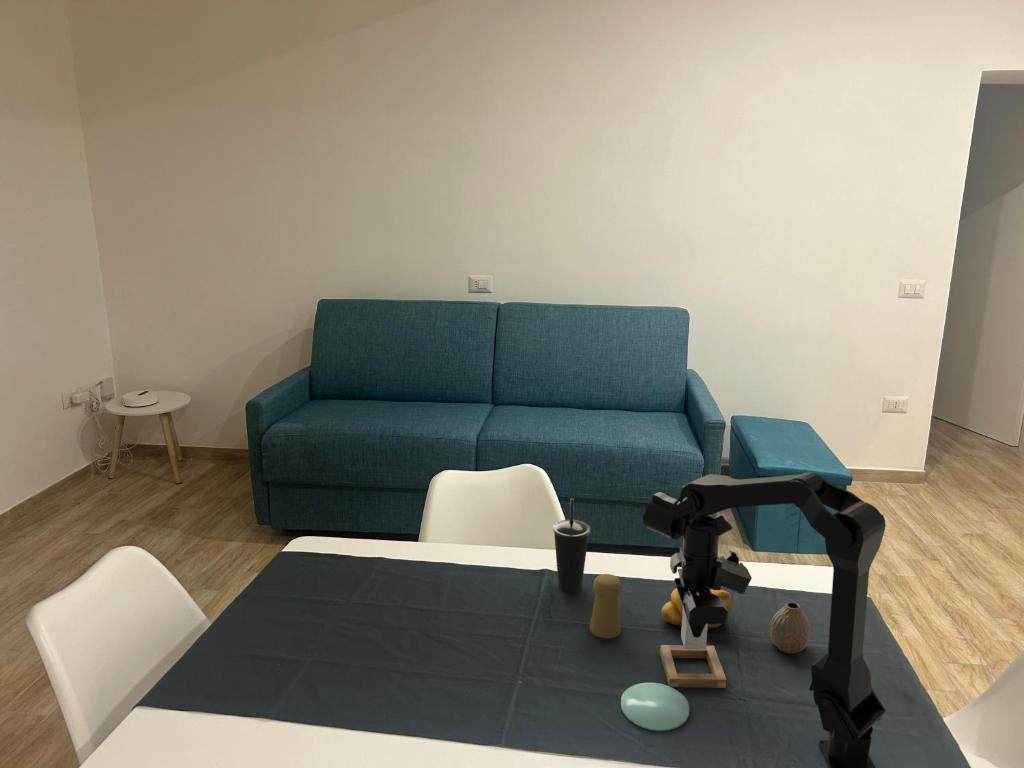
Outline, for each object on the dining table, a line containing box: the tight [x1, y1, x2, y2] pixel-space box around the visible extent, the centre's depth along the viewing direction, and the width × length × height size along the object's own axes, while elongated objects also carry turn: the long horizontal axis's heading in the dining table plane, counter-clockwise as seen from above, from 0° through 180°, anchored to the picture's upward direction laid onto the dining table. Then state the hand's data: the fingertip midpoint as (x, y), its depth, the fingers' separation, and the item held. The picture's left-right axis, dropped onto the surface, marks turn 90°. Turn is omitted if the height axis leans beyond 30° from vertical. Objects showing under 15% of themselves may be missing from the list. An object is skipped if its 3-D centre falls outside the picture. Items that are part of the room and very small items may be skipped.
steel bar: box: [680, 591, 709, 649], centre depth 137 cm, size 4×4×9 cm
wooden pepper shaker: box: [589, 573, 622, 639], centre depth 150 cm, size 6×6×11 cm
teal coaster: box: [620, 682, 690, 732], centre depth 130 cm, size 11×11×1 cm
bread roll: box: [661, 587, 733, 630], centre depth 154 cm, size 13×10×8 cm
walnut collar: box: [659, 644, 727, 689], centre depth 139 cm, size 10×10×2 cm
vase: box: [769, 601, 811, 655], centre depth 145 cm, size 7×7×9 cm
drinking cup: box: [552, 498, 591, 594], centre depth 163 cm, size 8×8×20 cm
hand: (694, 630), depth 137 cm, fingers closed on steel bar, 4 cm apart
